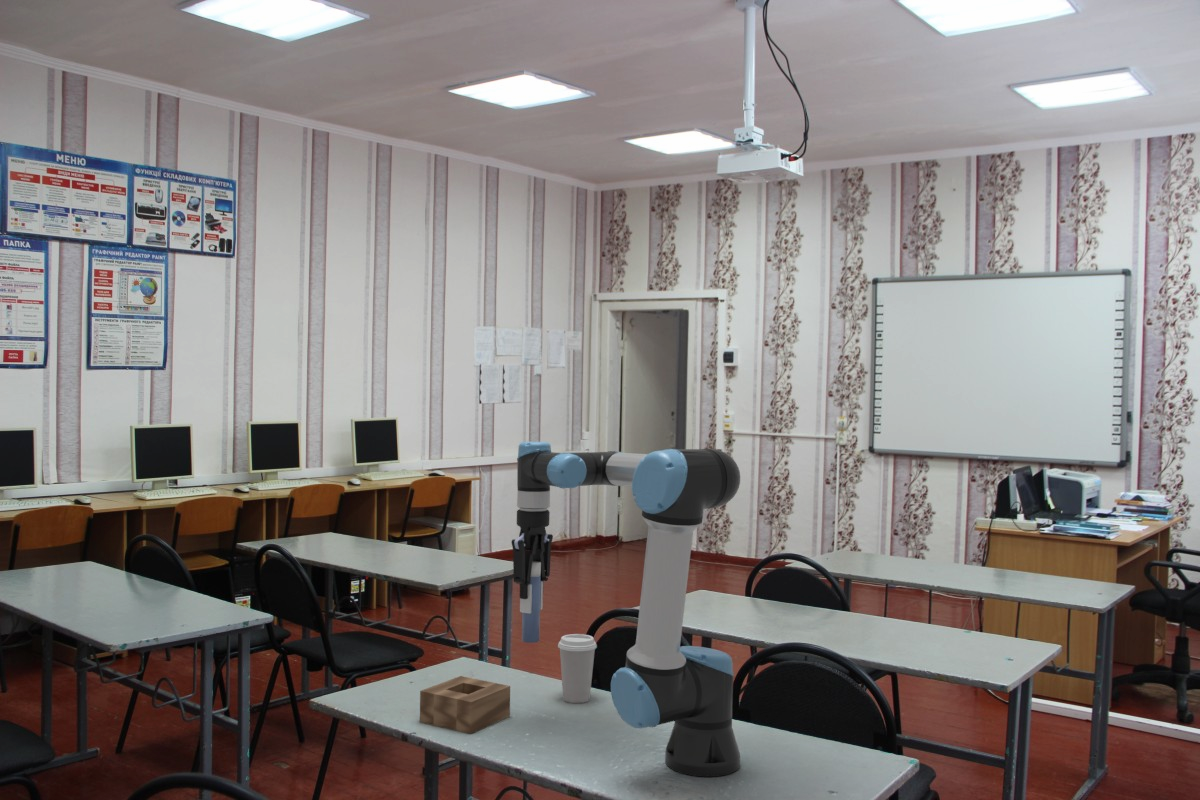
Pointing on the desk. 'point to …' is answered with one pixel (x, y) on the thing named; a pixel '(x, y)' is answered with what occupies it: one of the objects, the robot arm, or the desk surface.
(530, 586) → the robot arm
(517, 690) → the desk surface
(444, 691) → the socket block
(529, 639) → the marker
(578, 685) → the coffee cup
